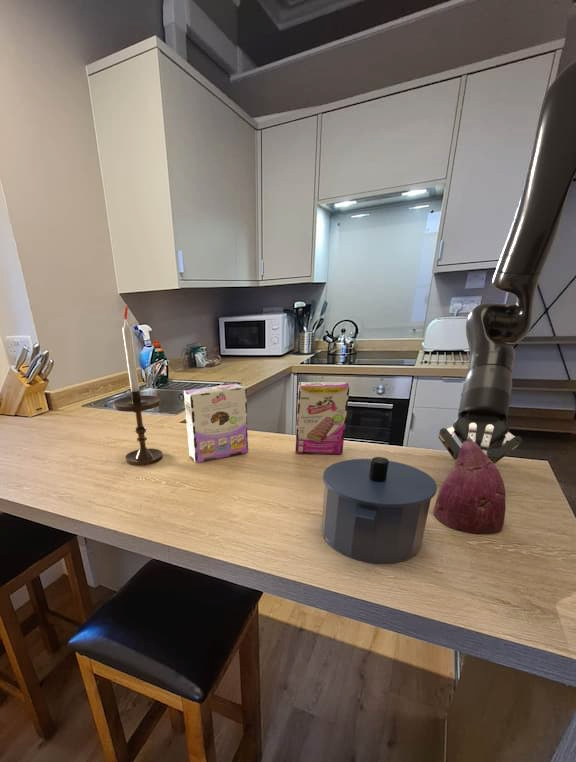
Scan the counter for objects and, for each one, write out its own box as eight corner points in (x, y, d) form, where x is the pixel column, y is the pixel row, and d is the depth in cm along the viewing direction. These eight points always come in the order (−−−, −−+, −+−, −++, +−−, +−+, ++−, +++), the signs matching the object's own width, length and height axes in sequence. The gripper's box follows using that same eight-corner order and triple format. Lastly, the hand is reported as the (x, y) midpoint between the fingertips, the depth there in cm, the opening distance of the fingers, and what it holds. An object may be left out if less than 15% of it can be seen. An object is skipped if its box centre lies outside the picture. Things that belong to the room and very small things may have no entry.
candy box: (239, 446, 102) (237, 382, 94) (248, 453, 97) (247, 386, 89) (188, 455, 97) (182, 389, 90) (195, 463, 92) (190, 394, 85)
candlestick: (169, 449, 102) (153, 302, 87) (162, 466, 92) (144, 303, 77) (128, 451, 102) (105, 304, 87) (117, 467, 92) (89, 306, 78)
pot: (424, 515, 67) (434, 464, 63) (415, 587, 51) (428, 525, 47) (337, 499, 73) (341, 452, 69) (305, 558, 58) (309, 502, 54)
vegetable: (420, 528, 69) (408, 447, 65) (462, 507, 72) (453, 428, 68) (478, 546, 59) (467, 452, 56) (524, 521, 62) (517, 430, 59)
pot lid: (437, 473, 61) (442, 448, 59) (433, 521, 49) (439, 492, 47) (335, 459, 68) (337, 437, 66) (310, 498, 56) (311, 472, 54)
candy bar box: (295, 454, 95) (298, 386, 88) (295, 447, 99) (297, 381, 92) (343, 455, 93) (350, 385, 86) (341, 447, 97) (347, 381, 90)
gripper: (446, 382, 72) (429, 468, 68) (536, 388, 66) (523, 482, 62) (442, 403, 78) (426, 483, 74) (523, 410, 72) (510, 497, 68)
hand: (470, 482), depth 68 cm, fingers closed
